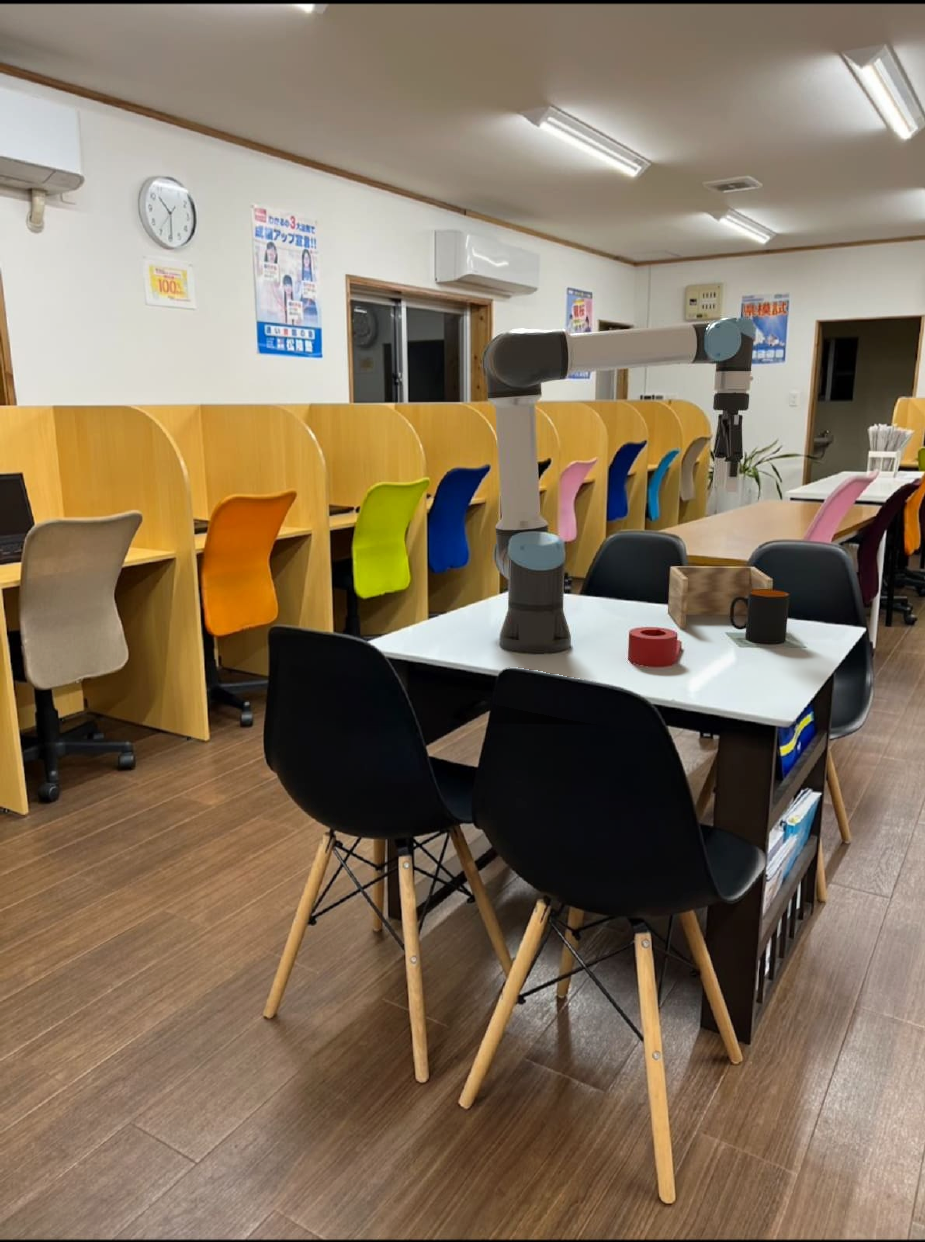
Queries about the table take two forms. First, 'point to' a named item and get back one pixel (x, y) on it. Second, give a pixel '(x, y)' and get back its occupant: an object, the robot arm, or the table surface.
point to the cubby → (711, 590)
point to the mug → (764, 616)
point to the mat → (742, 642)
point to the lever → (653, 646)
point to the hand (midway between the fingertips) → (724, 489)
